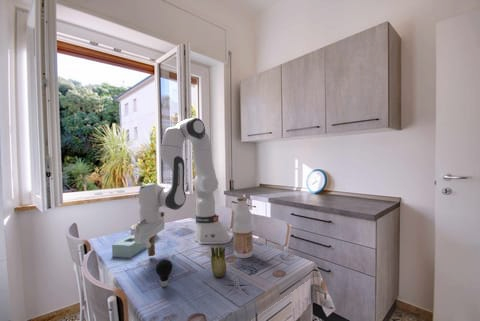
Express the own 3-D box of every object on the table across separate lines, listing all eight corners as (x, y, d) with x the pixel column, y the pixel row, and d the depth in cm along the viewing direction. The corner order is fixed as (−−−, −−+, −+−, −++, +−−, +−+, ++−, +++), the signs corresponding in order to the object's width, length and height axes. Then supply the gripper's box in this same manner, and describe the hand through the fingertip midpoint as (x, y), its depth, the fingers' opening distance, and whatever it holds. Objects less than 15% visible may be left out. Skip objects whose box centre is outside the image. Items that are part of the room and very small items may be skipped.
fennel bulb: (210, 275, 91) (209, 246, 91) (218, 271, 95) (218, 242, 95) (220, 280, 87) (219, 249, 87) (228, 275, 91) (228, 246, 91)
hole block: (147, 246, 123) (147, 235, 123) (130, 257, 109) (129, 245, 109) (131, 245, 125) (131, 235, 125) (112, 256, 111) (112, 244, 111)
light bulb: (158, 282, 86) (158, 257, 86) (174, 281, 87) (173, 256, 87) (154, 291, 81) (153, 264, 81) (170, 290, 81) (170, 263, 81)
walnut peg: (156, 253, 110) (155, 233, 110) (152, 256, 107) (151, 235, 107) (150, 253, 110) (149, 233, 110) (147, 256, 107) (146, 235, 107)
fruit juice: (233, 259, 106) (232, 199, 105) (233, 251, 115) (232, 196, 115) (253, 258, 106) (252, 199, 106) (251, 250, 115) (250, 196, 115)
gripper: (142, 223, 97) (144, 255, 98) (166, 211, 118) (167, 237, 118) (129, 223, 99) (131, 254, 99) (155, 211, 119) (156, 237, 119)
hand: (151, 245), depth 108 cm, fingers closed on walnut peg, 3 cm apart
